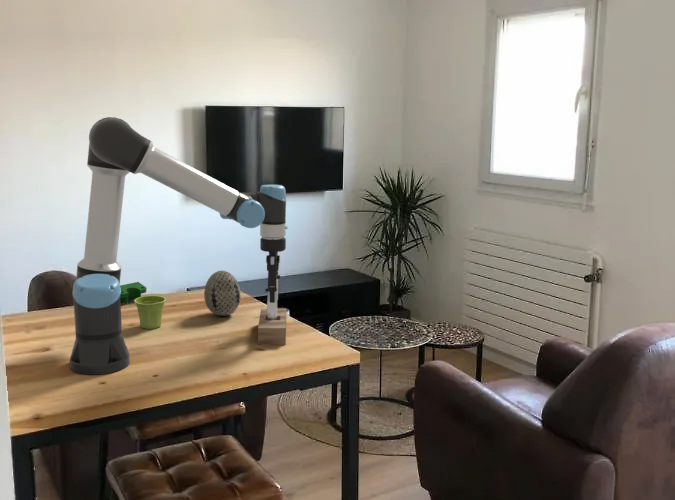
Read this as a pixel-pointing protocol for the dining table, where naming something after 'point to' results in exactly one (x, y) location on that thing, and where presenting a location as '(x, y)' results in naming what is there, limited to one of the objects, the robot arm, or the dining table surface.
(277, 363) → the dining table surface
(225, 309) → the decorative egg
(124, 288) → the clamp
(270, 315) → the steel peg
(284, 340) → the hole block
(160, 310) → the plant pot
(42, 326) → the dining table surface
